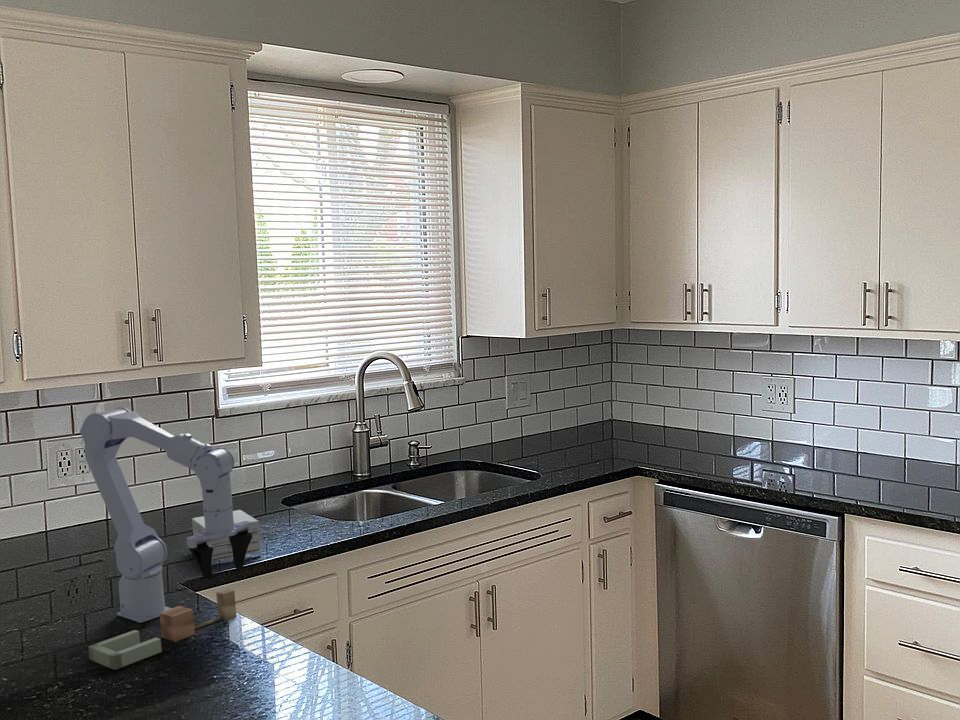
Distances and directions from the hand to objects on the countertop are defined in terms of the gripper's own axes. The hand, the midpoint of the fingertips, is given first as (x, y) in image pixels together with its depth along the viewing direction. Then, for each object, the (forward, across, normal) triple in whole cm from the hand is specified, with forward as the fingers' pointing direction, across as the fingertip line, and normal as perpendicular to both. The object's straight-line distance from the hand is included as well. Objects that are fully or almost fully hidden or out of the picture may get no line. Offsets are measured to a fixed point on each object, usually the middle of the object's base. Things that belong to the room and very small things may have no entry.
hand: (223, 573), depth 192 cm
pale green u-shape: (+9, -23, 0) cm, 25 cm away
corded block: (+9, -6, 0) cm, 11 cm away
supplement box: (+10, +29, +40) cm, 50 cm away
